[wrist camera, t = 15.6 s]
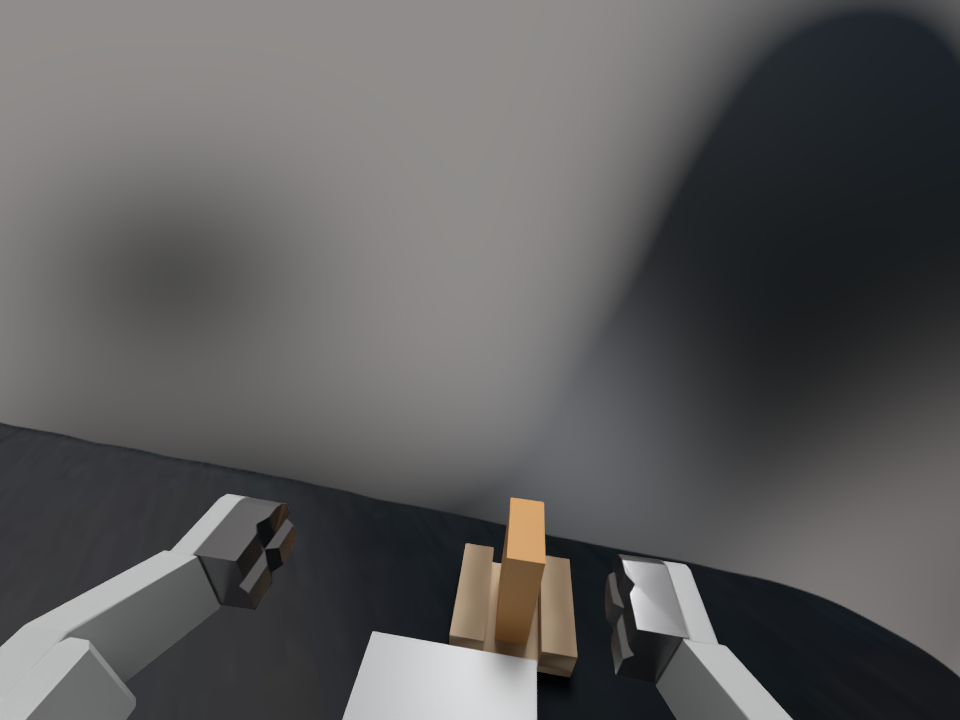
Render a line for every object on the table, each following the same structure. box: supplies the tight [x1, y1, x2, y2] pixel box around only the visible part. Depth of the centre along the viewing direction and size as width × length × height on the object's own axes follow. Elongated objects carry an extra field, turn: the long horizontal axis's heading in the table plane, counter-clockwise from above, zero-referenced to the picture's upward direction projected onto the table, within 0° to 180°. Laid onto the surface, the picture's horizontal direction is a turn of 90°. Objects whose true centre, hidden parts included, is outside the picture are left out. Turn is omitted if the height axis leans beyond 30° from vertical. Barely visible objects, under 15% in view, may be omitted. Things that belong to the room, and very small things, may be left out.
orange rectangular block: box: [494, 498, 545, 645], centre depth 35 cm, size 3×6×12 cm, turn 173°
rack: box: [449, 543, 577, 677], centre depth 38 cm, size 11×9×4 cm
